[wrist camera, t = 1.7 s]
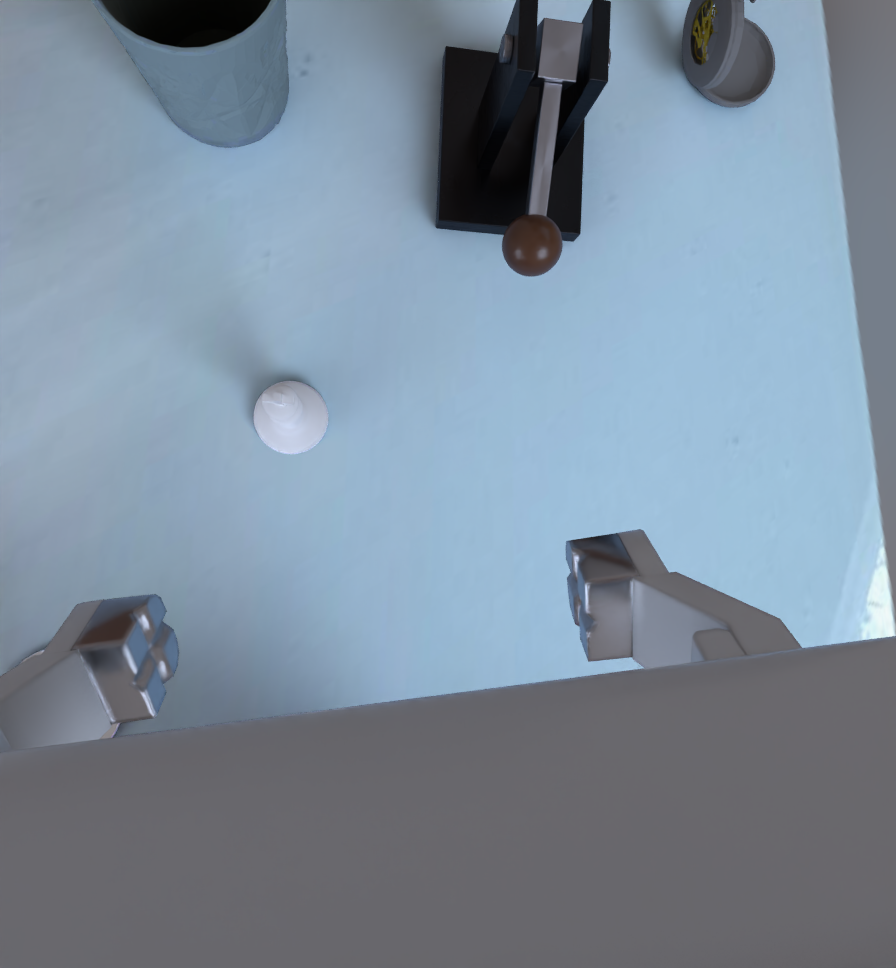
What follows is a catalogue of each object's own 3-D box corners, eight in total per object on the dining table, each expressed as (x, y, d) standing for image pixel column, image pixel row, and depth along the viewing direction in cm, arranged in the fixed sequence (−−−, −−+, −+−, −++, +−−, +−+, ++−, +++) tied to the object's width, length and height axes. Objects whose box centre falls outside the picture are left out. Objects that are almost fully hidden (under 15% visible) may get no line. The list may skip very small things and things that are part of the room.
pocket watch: (783, 76, 53) (884, -20, 43) (706, 143, 52) (791, 61, 42) (715, -12, 52) (802, -130, 43) (636, 55, 52) (705, -49, 42)
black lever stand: (573, 242, 51) (650, 157, 38) (435, 228, 49) (467, 135, 36) (579, 77, 51) (657, -62, 38) (442, 58, 49) (476, -92, 37)
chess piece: (257, 377, 47) (233, 345, 37) (331, 385, 48) (328, 356, 38) (250, 450, 47) (225, 438, 37) (324, 457, 48) (319, 447, 38)
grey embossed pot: (319, 50, 48) (311, -96, 36) (271, 186, 48) (247, 83, 36) (172, -11, 47) (114, -184, 35) (120, 128, 46) (43, 1, 34)
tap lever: (549, 277, 45) (565, 280, 41) (493, 272, 44) (505, 275, 41) (580, 39, 41) (600, 21, 37) (519, 31, 40) (533, 12, 37)
